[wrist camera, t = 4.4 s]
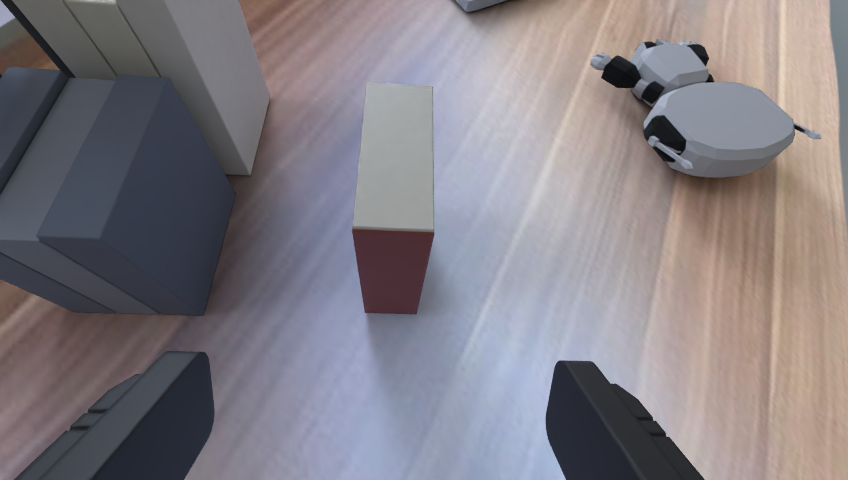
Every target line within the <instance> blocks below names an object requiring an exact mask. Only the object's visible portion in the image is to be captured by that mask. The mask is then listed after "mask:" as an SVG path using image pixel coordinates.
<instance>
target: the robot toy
mask: <svg viewBox="0 0 848 480" xmlns="http://www.w3.org/2000/svg"><path fill="white" fill-rule="evenodd" d="M708 60H709V57H708V55H707V52H706V50H705V48H704V47H703V46H701V45H698V44H697V43H696V42H689V43H688V42H687V41H681V42H680V43H679V44H676V43H672V44H671V43H670V42H668V41H664V40H658V39H657V41H656V42H655V43H653V42H644V41H643V42H642V43H641V44H639V46H638V47H637V49H636V50H635V53H634V55H633V57H632V58H631V60H630V62H629V61H627V60H626V59H624V58H622V57H620V56H616V57H614V58H613V59H611V58H610V56H609V55H607V54H604V53H599V54H597V55H596V56H593V57H592V59H591V66H592V67H594V68H595V69H596V70H603V71H604V72H603V74H602V77H601V78H602V79H604V80H606V81H607V82H609V83H610V84H612V85H614V86H615V87H617V88H631V89H630V90H631V91H632V93H633V94H634V95H635V96H636V97H638V98H639V99H642V100H643V101H644V102H646V103H647V104H648V105H649V106H651V107H652V108H653V109H652V110H651V112H650V113H649V115H648V116H647V118H646V119H645V121H644V122H643V125H644V131H643V132H644V136H645V139H646V140H647V141H648V144H650V145H651V146H652V147H653V149H654V150H655V151H656V152H657V153H658V155H659V156H660V157H661V158H662V160H663V161H666V163H667V164H668V165H669V166H670V168H672V169H675V170H677V171H680V172H683V173H685V174H688V175H691V176H700V177H719V178H720V177H732V176H744V175H747V174H749V173H751V172H753V171H755V170H757V169H760V168H762V167H764V166H765V165H766V164H768V163H769V162H771V161H772V160H773V159H774V158H775V157H776V156H777V155H779V154H780V153H781V152H782V151H783V150H784V149H785V148H787V147H788V146H789V145H790V144H791V143H792V142H793V139H794V136H795V130H794V129H796V130H798V131H800V132H802V133H804V134H807V135H808V137H810V138H812V139H821V136H820V134H819V133H817V132H815V131H810V130H808V129H806V128H804V127H802V126H800V125H798V124H796V123H794V122H793V119H792V118H791V117H790V116H789V115H788V114H787V113H785V112H784V111H783V110H782V109H781V108H780V107H779V106H778V105H777V104H775V103H774V102H773V101H772V100H771V99H770V98H769V97H768V96H767V95H765V94H764V93H763V92H762V91H761V90H759V89H756V88H753V87H750V86H747V85H744V84H741V83H731V82H714V80H713V77H712V75H710V74H709V73H708V70H707V68H706V64H707V62H708Z"/></svg>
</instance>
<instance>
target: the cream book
mask: <svg viewBox="0 0 848 480" xmlns="http://www.w3.org/2000/svg"><path fill="white" fill-rule="evenodd" d="M352 233H353V239H354V245H355V252H356V258H357V265H358V271H359V278H360V284H361V290H362V297H363V303H364V310H365V313H393V314H417V309H418V305H419V300H420V296H421V291H422V287H423V282H424V278H425V273H426V269H427V264H428V260H429V255H430V251H431V246H432V242H433V237H434V162H433V87H431V86H416V85H401V84H387V83H372V82H367V84H366V94H365V104H364V114H363V124H362V135H361V145H360V155H359V165H358V175H357V185H356V196H355V206H354V216H353V227H352Z"/></svg>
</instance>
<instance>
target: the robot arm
mask: <svg viewBox="0 0 848 480" xmlns="http://www.w3.org/2000/svg"><path fill="white" fill-rule="evenodd" d="M213 422H214V400H213V391H212V383H211V374H210V365H209V359H208V356H207V354H206V353H205V352H184V351H167V352H165V353H164V354H162V355H161V356H160V357H159V358H158V359H157V360H156V361H155V362H154V363H153V364H152V365H151V366H150V367H149V368H148V369H147V370H146V371H145V372H144V373H143V374H136V375H134V376H132V377H131V378H129V379H127V380H125V381H124V382H122V383H120V384H119V385H117V386H115V387H113V388H112V389H110V390H108V391H107V392H106V393H105V394H104V395H103V396H102V397H101V398H100V399H99V400H98V401H97V402H96V403H95V404H94V405H93V406H91V407H90V408H89V409H88V413H84V414H83V415H82V416H81V417H80V418H79V419H78V420H77V421H76V422H74V423H73V424H72V425H71V428H70V430H69V431H65V432H64V433H63V434H62V435H61V436H60V437H59V438H58V439H56V440H55V441H54V442H53V443H52V444H51V445H50V446H49V447H48V448H47V449H46V450H45V451H44V452H43V453H42V454H41V455H39V456H38V457H37V458H36V459H35V460H34V461H33V462H32V463H31V464H30V465H29V466H28V467H27V468H26V469H25V470H24V471H23V472H21V473H20V474H19V475H18V476H17V477H16V478H15V479H14V480H184V479H185V477H186V475H187V474H188V472H189V470H190V468H191V467H192V465H193V463H194V462H195V460H196V458H197V457H198V455H199V453H200V452H201V450H202V448H203V447H204V445H205V443H206V442H207V440H208V438H209V435H210V433H211V430H212V426H213ZM546 430H547V436H548V440H549V443H550V445H551V447H552V449H553V452H554V454H555V456H556V458H557V461H558V463H559V465H560V467H561V469H562V472H563V474H564V476H565V478H566V480H704V478H703V477H702V476H701V475H700V474H699V472H698V471H697V470H696V469H695V468H694V466H693V465H692V464H691V463H690V462H689V460H688V459H687V458H686V457H685V455H684V454H683V453H682V452H681V451H680V449H679V448H678V447H677V446H676V445H675V443H674V442H673V441H672V440H671V439H670V437H666V433H665V431H664V430H663V429H662V428H661V427H660V425H659V424H658V423H657V422H656V421H653V417H652V416H651V415H650V413H649V412H648V411H647V410H646V409H645V407H644V406H643V405H642V404H641V403H640V401H639V400H638V399H637V398H635V397H634V396H633V395H631V394H630V393H628V392H627V391H626V390H624V389H623V388H621V387H620V386H619V385H617V384H610V383H609V381H608V380H607V379H606V378H605V376H604V375H603V374H602V372H601V371H600V370H599V369H598V367H597V366H596V365H595V364H594V363H593V362H591V361H558V362H557V363H556V365H555V369H554V374H553V379H552V385H551V390H550V396H549V401H548V406H547V412H546Z"/></svg>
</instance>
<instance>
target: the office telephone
mask: <svg viewBox="0 0 848 480" xmlns="http://www.w3.org/2000/svg"><path fill="white" fill-rule="evenodd" d="M455 1H456V2H457V3H458V4H459V5H460V6H461V7H462V8H463V9H464V10H465V11H466V12H470V11H475V10H478V9H481V8H485V7H488V6H491V5H494V4H497V3H500V2H503V1H506V0H455Z"/></svg>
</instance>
